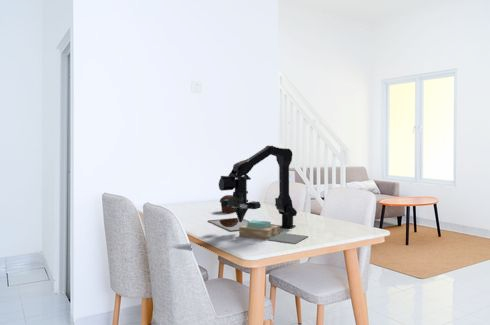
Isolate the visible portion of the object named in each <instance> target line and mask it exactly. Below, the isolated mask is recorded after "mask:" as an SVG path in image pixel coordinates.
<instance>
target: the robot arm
mask: <svg viewBox="0 0 490 325" xmlns="http://www.w3.org/2000/svg"><path fill="white" fill-rule="evenodd" d="M269 156H273V157H275V159H276V162H277V164H278V167H279V168H278V169H279V170H278V171H279V175H278V180H279V181H278V182H279V183H278V184H279V195H278V196H277V197H275V198H274V199H275V204H274V206H275V208H276V210H278V214H279V215H281V224H280V228H282V229H284V228H285V229H292V228H294V227H295V228H296V226H297V225H295V224H294V217H296V216H297V214H298V211H297V210H296V209H295V208H294V207H293V200H292V198H291V196H290V165H291V164H292V161H293V151H292V150H291V149H289V148H282V147H278V146H277V147H276V146H274V145H266V146H265V147H264V148H262V149H261V150H259V151H257V152H256V153H255V154H253V155H252V156H249V157H248V158H246V159H244V160H241V161H238V162H236V163H234V164H233V166H232V170H231V171H230V173H229V174H228V175H220V178H219V180H218V189H219V190H220V191H221V192H223V191H233V190H234V191H233V192H232V195H233V196H232V197H230V198H229V199H226V200H222V202H221V203H220V206H225V207H226V206H228V205H229V207H232V209H234V210H235V213H236V216H237V217H236V218H238V219H239V222H242V220H243V219H245V215H246V213H247V212H248V210H258V209H260V208H261V207H262V206H261V202H260V201H254V200H253V201H252V200H251V201H250V202H249V199H247V198H248V196H247V195H248V194H249V191H248V189H247V187H248V184H247V183H248V181H249V180H251V179H252V178H251V177H250V176H249V172H250V171H251V170H253V168H254V167H255V166H256V165H258V164H259V163H260V162H262V161H264V160H265V159H267V158H268V157H269Z"/></svg>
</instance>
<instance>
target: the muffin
mask: <svg viewBox="0 0 490 325" xmlns="http://www.w3.org/2000/svg"><path fill="white" fill-rule="evenodd" d="M232 196H233V194H232V195H231V194H226V195H223V196H222V197H221V198H220V199H219V203H220V204H221V202H222V200H226V199H229V198H230V197H232ZM220 206H221V205H220ZM221 212H222V213H224V212H225V213H224V214H233V213H236V212H235V210H234V209H232V207H229V205H228V206H226V207H225V206H221Z"/></svg>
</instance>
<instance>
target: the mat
mask: <svg viewBox="0 0 490 325" xmlns="http://www.w3.org/2000/svg"><path fill="white" fill-rule="evenodd" d="M307 238H309V235H302V234H295V233H294V234H293V233H287V232H280V234H278V235H276V236H273V237H271V238H269V239H267V240H266V241H270V242H279V243H286V244H293V245H296V244H298V243H300V242H302V241H304V240H305V239H307Z"/></svg>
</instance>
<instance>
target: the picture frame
mask: <svg viewBox="0 0 490 325" xmlns="http://www.w3.org/2000/svg"><path fill="white" fill-rule="evenodd" d="M249 221H250V220H247V219H245V218H243V220H242V222H239V219H238V217H231V218H230V217H229V218H221V219H210V220H207V222H208V223H210V222H211V223H210V224H212V223H213V225H214V224H215V226H217V227H219V228H221V229H222V230H223V229H224V230H226V231H228V232H230V233H231V232H233V233H234V232H239V227H242V226H245V225H247V222H249Z"/></svg>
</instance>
